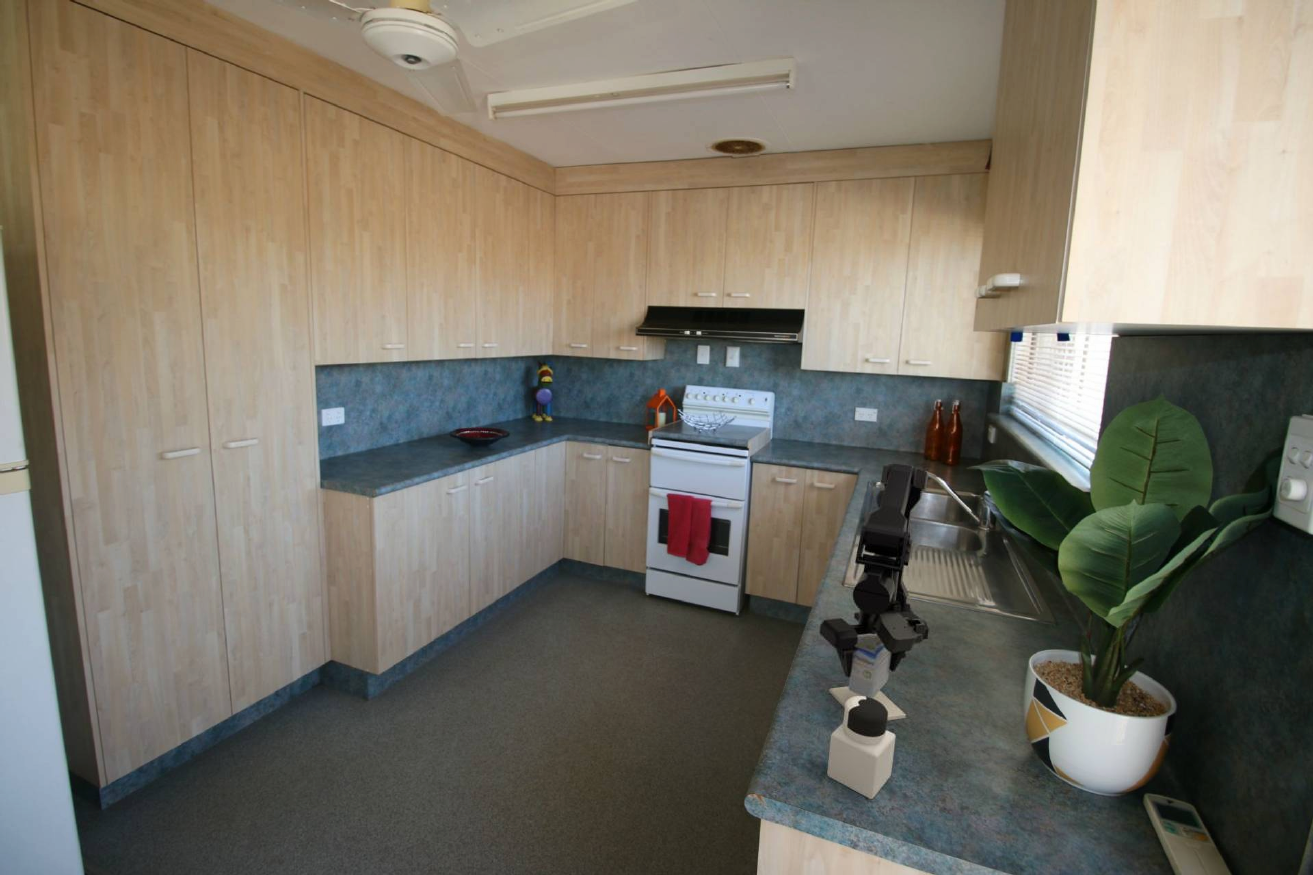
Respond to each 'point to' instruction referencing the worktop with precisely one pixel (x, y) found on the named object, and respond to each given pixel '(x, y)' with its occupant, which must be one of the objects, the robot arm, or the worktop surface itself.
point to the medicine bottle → (862, 747)
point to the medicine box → (869, 666)
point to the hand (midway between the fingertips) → (869, 673)
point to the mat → (893, 711)
